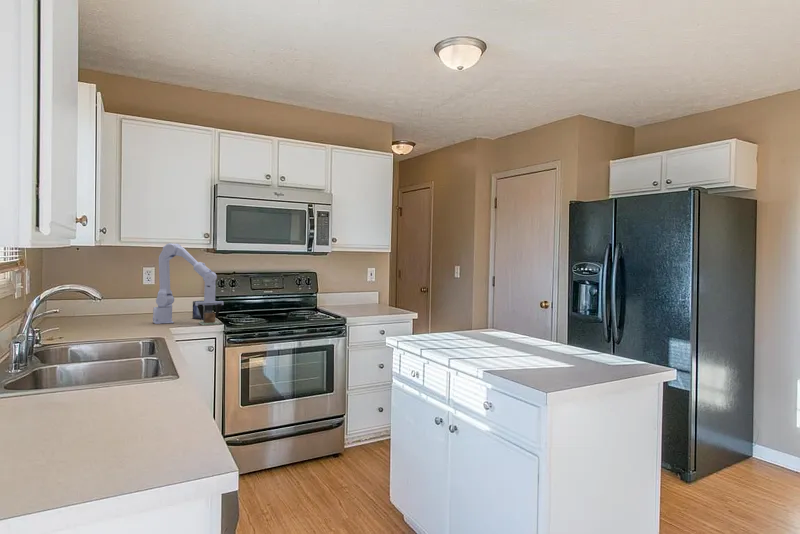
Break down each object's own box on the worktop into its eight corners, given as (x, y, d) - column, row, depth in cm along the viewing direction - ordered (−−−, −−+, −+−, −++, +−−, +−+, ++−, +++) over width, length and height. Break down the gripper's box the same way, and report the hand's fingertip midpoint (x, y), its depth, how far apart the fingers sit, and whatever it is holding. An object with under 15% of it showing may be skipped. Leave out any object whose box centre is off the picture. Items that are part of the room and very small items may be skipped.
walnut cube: (205, 322, 267) (205, 313, 267) (203, 321, 271) (203, 312, 271) (215, 322, 270) (215, 313, 269) (212, 321, 274) (212, 312, 274)
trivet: (202, 325, 264) (202, 323, 264) (198, 323, 271) (198, 321, 271) (219, 324, 269) (219, 322, 269) (215, 322, 276) (215, 320, 276)
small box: (191, 318, 289) (191, 301, 289) (200, 317, 295) (201, 300, 295) (203, 320, 284) (204, 302, 284) (212, 319, 290) (213, 301, 290)
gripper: (197, 294, 262) (197, 319, 263) (225, 293, 271) (224, 318, 271) (194, 293, 268) (194, 318, 268) (221, 293, 277) (221, 316, 277)
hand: (209, 318), depth 270 cm, fingers open, 7 cm apart
